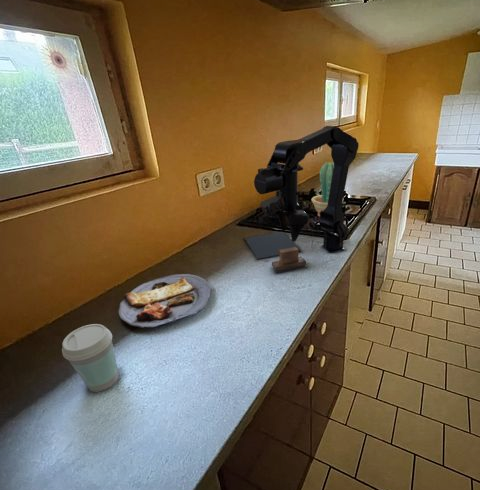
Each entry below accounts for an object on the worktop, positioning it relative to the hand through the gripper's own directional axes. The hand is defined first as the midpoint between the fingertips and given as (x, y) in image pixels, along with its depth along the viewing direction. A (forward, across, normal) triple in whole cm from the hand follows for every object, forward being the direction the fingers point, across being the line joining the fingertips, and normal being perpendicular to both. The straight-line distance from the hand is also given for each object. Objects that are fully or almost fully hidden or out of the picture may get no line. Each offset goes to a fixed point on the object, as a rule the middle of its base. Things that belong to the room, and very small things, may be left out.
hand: (288, 235), depth 97 cm
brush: (+12, 0, 0) cm, 12 cm away
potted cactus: (+12, -43, +36) cm, 57 cm away
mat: (+12, -20, 0) cm, 23 cm away
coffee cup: (+12, +30, -53) cm, 62 cm away
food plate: (+12, +6, -40) cm, 42 cm away
